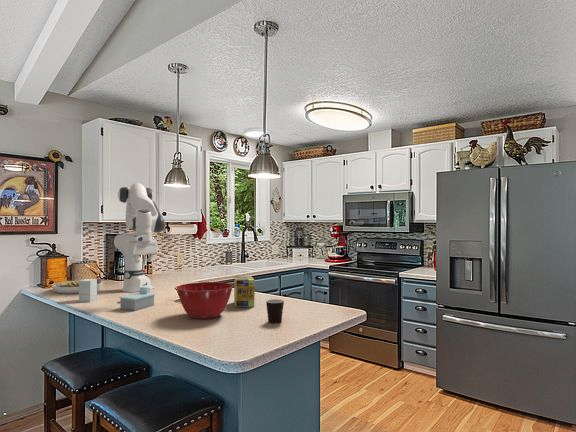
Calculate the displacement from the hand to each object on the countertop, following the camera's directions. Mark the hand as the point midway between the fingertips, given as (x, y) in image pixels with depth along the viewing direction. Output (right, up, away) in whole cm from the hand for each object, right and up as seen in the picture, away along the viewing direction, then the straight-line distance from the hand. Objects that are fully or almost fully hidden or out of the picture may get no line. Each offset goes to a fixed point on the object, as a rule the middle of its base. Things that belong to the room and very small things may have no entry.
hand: (143, 262), depth 224 cm
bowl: (-62, -25, +45) cm, 80 cm away
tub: (-1, -25, -5) cm, 25 cm away
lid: (-1, -19, -5) cm, 19 cm away
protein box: (+57, -25, +3) cm, 63 cm away
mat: (-9, -25, +10) cm, 28 cm away
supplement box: (-37, -25, +11) cm, 46 cm away
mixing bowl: (+40, -25, -23) cm, 53 cm away
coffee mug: (+77, -25, -33) cm, 88 cm away
